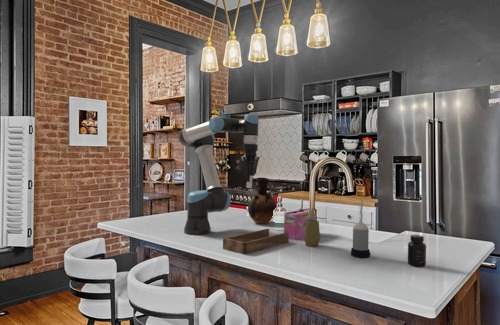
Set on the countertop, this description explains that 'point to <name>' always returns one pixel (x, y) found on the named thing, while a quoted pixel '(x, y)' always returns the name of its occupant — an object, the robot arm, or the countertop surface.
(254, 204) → the ceramic vessel
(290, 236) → the gum box
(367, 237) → the grey long nozzle bottle
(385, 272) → the countertop surface
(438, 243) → the countertop surface
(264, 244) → the u-shaped wooden frame
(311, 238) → the squeeze bottle
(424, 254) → the supplement bottle
